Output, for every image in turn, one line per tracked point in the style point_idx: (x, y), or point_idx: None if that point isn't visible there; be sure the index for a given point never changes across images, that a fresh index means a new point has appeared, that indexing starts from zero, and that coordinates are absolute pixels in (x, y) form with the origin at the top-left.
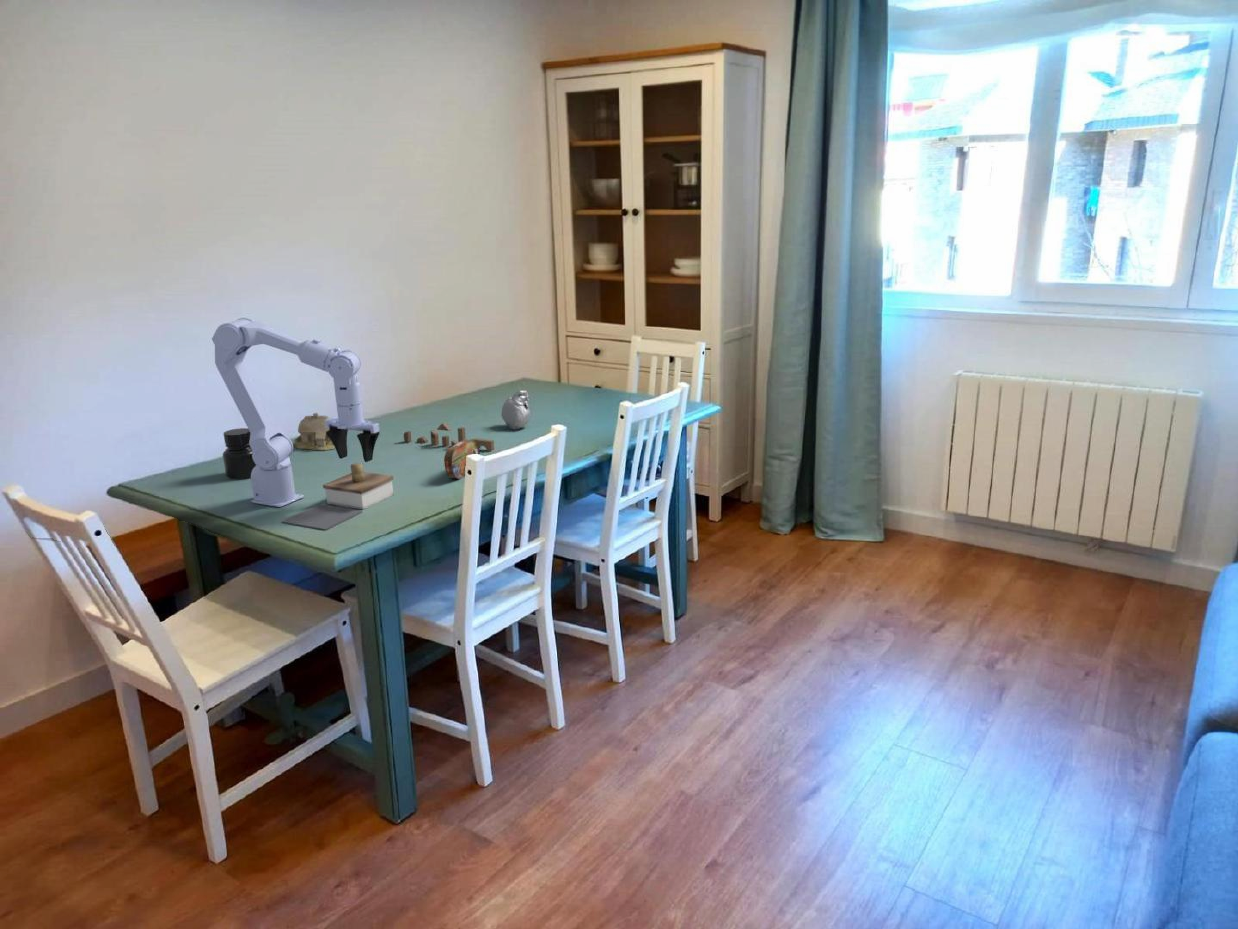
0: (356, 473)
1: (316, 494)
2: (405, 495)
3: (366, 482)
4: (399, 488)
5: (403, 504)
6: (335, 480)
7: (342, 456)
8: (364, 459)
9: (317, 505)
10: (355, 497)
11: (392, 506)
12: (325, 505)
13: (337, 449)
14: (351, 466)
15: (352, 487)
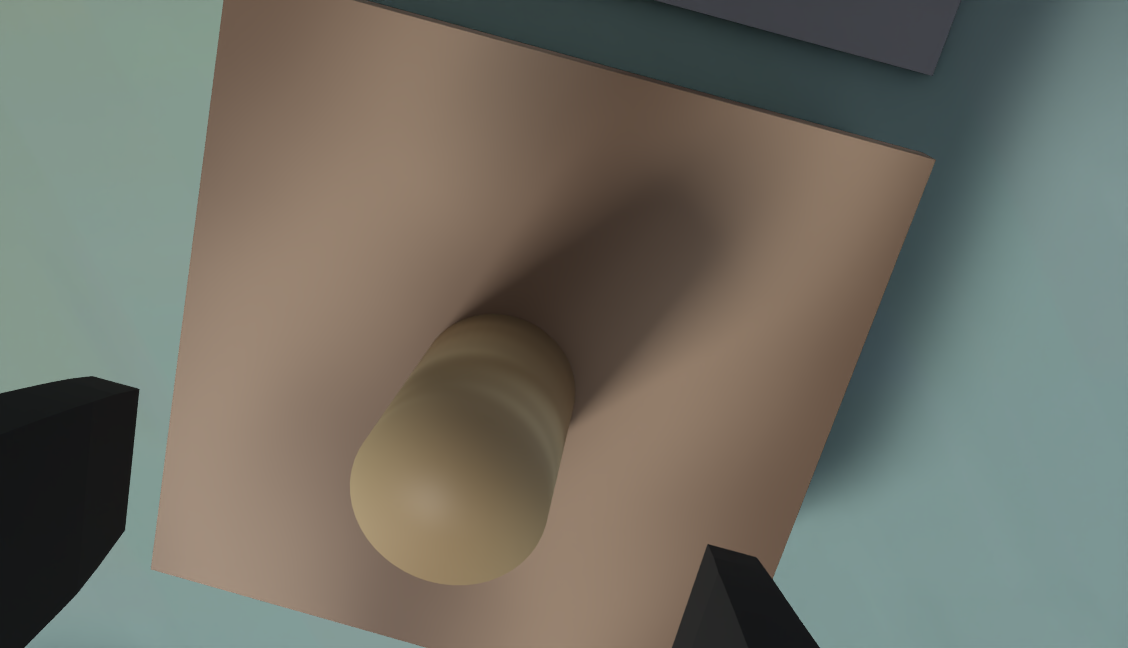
0: (441, 361)
1: (1114, 418)
2: (143, 449)
3: (348, 323)
4: (304, 622)
5: (17, 204)
6: (827, 370)
7: (699, 596)
8: (93, 389)
9: (937, 25)
10: None
11: (91, 135)
12: (834, 38)
13: (774, 646)
14: (496, 417)
15: (432, 102)
